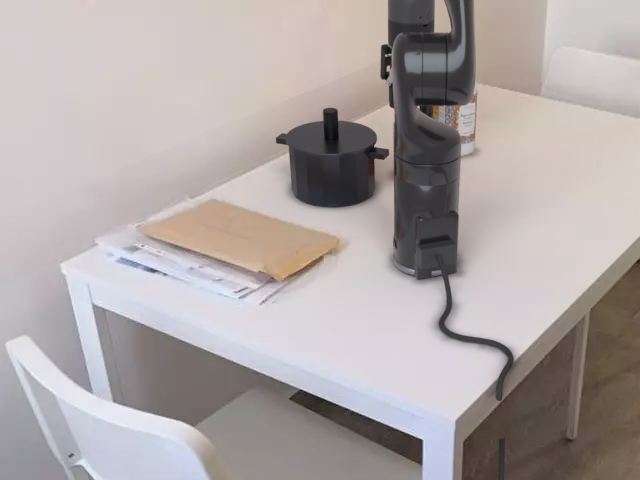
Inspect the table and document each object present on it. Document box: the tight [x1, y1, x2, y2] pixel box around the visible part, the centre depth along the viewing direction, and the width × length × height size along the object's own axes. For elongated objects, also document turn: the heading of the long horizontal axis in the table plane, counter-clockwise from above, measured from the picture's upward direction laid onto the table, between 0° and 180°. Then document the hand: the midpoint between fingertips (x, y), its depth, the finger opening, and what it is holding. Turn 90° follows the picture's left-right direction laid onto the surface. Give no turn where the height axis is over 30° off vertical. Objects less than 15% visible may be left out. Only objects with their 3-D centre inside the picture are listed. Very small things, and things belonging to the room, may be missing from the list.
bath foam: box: [439, 79, 478, 157], centre depth 161 cm, size 7×7×20 cm
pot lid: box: [286, 107, 378, 157], centre depth 144 cm, size 15×15×6 cm
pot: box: [275, 132, 390, 208], centre depth 148 cm, size 14×19×9 cm
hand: (410, 114), depth 150 cm, fingers open, 8 cm apart
